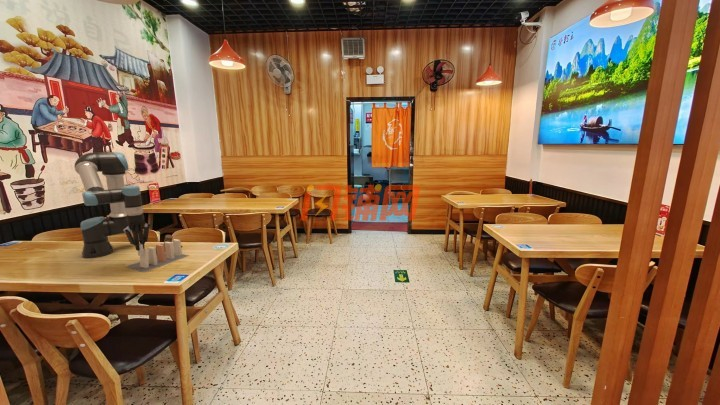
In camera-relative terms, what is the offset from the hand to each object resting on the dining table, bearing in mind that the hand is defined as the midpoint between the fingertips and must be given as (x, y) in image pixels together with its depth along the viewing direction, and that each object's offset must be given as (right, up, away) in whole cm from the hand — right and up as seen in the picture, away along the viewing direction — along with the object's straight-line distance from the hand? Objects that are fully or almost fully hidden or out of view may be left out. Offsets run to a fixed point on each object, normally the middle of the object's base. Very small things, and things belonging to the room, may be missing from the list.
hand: (141, 255), depth 161 cm
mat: (+2, -6, +11) cm, 13 cm away
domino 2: (+2, -6, +6) cm, 9 cm away
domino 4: (+6, -5, +15) cm, 17 cm away
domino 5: (+8, -4, +20) cm, 22 cm away
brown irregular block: (-4, -3, +28) cm, 29 cm away
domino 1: (0, -7, +2) cm, 7 cm away
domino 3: (+4, -5, +11) cm, 13 cm away
